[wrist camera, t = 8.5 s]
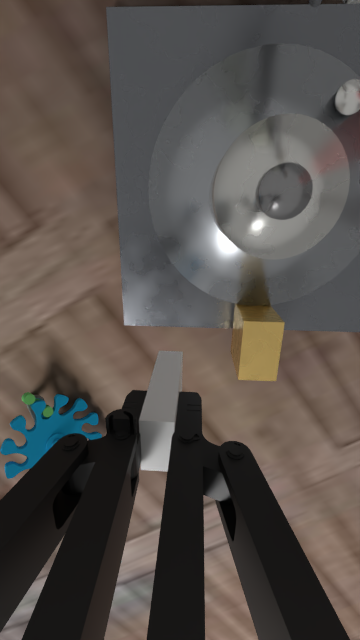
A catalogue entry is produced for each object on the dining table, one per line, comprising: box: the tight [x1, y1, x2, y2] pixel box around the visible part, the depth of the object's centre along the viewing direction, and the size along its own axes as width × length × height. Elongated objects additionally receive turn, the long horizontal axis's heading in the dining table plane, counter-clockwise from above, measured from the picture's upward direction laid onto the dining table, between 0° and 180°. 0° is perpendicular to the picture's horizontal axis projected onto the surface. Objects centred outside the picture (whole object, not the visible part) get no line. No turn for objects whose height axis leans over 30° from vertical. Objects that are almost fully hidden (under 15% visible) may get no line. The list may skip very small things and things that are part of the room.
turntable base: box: [106, 4, 360, 332], centre depth 25 cm, size 24×24×1 cm
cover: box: [209, 113, 350, 260], centre depth 19 cm, size 8×8×6 cm
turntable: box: [148, 43, 360, 381], centre depth 22 cm, size 18×23×6 cm
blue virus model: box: [0, 392, 102, 478], centre depth 32 cm, size 11×6×10 cm
